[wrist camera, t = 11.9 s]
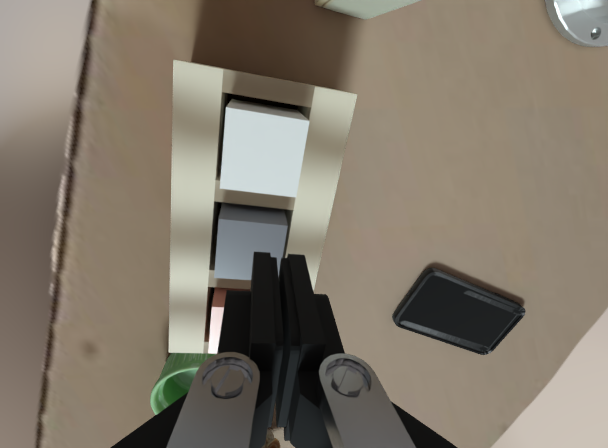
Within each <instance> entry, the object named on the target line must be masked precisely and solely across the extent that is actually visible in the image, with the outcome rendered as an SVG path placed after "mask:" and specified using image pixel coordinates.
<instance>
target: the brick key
mask: <svg viewBox="0 0 608 448" xmlns="http://www.w3.org/2000/svg"><path fill="white" fill-rule="evenodd" d="M227 290H234V291H250V289H235V288H219V287H215V291H214V297H213V303H212V310H211V323H210V336H209V349H208V354H217V351H218V345H219V338H220V331H221V325H222V318H223V311H224V304H225V298H226V291H227Z"/></svg>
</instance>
